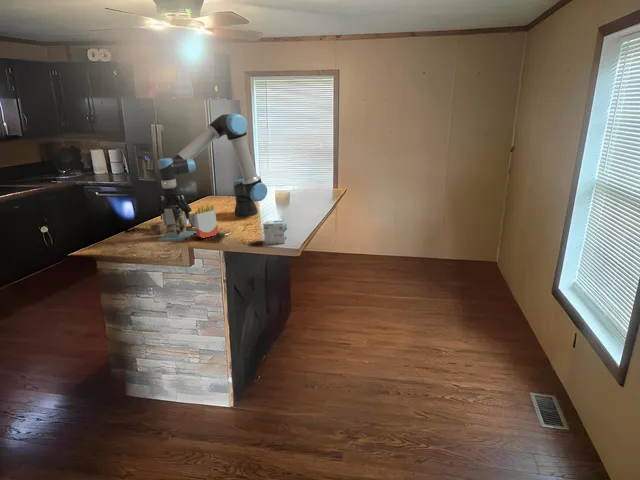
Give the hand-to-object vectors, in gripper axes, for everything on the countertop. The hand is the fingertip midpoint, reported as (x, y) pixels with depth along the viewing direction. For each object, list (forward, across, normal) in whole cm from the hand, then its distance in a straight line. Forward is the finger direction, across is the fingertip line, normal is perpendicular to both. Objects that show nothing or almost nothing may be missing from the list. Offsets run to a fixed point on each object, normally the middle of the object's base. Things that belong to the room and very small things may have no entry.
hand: (176, 224), depth 244 cm
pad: (+7, 0, 0) cm, 7 cm away
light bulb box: (+7, +61, -10) cm, 62 cm away
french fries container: (+7, +19, -2) cm, 20 cm away
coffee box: (+6, 0, 0) cm, 6 cm away
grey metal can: (+7, +1, +20) cm, 21 cm away
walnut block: (+7, -16, +7) cm, 19 cm away
